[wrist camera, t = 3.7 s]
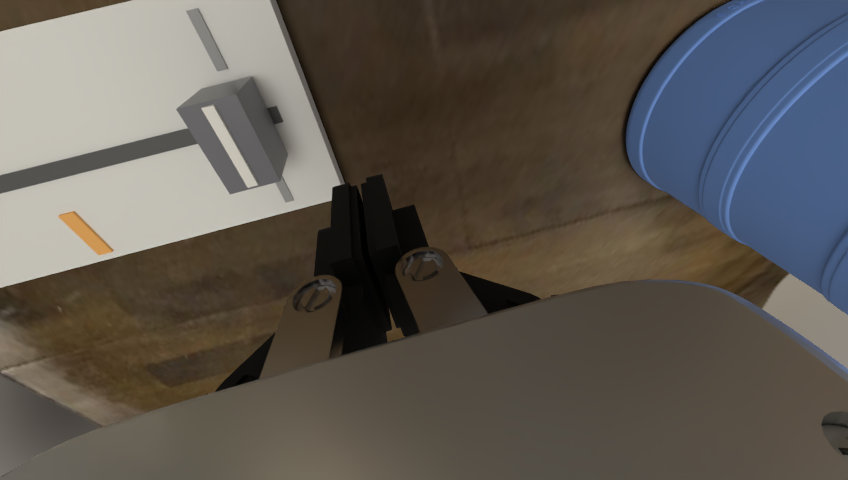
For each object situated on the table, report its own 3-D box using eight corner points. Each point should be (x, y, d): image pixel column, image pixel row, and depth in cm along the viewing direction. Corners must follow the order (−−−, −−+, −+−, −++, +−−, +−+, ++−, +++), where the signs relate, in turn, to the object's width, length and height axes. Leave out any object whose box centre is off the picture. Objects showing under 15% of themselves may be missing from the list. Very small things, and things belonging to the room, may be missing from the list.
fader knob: (251, 76, 20) (234, 94, 17) (288, 154, 23) (279, 182, 20) (201, 88, 20) (174, 110, 17) (244, 165, 23) (229, 196, 20)
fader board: (264, -29, 19) (257, -30, 18) (345, 184, 28) (345, 197, 26) (-250, 92, 18) (-311, 104, 17) (-1, 275, 27) (-24, 295, 25)
